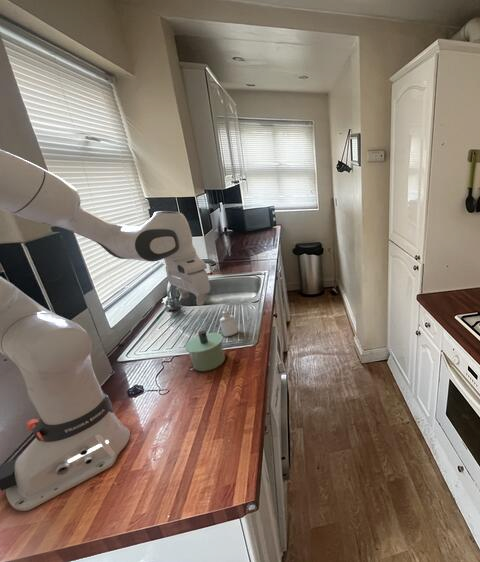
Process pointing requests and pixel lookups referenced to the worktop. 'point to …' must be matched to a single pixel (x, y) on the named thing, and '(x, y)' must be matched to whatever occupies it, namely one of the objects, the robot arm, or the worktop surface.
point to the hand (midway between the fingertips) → (192, 301)
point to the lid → (204, 342)
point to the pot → (208, 359)
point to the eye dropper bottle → (228, 324)
